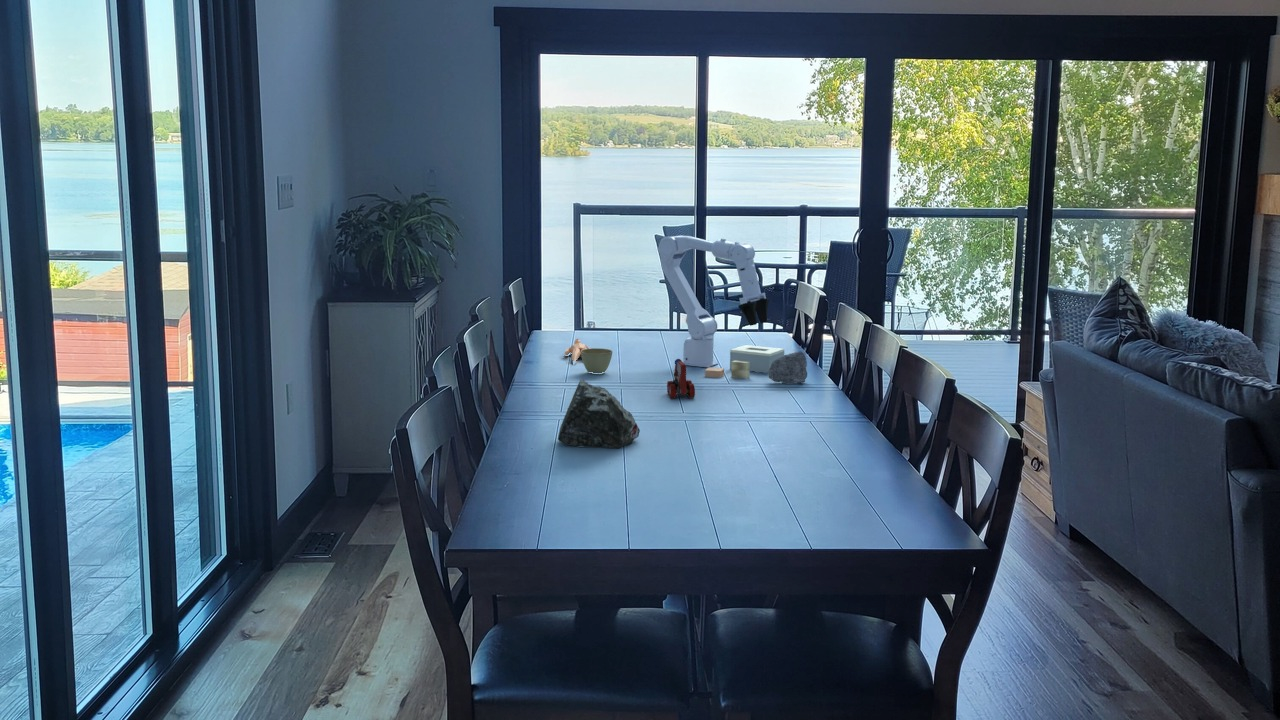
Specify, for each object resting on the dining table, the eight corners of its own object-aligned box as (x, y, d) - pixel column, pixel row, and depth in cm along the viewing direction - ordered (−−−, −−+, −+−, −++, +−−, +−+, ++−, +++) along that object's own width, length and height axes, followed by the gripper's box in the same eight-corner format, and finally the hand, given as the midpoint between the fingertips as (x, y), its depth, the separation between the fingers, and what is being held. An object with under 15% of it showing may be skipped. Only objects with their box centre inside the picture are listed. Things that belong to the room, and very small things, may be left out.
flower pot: (575, 374, 339) (575, 352, 338) (588, 369, 349) (588, 347, 347) (604, 377, 336) (604, 354, 334) (617, 371, 345) (617, 349, 344)
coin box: (729, 369, 350) (730, 349, 349) (745, 363, 359) (745, 344, 358) (769, 373, 343) (769, 353, 342) (783, 368, 352) (784, 348, 351)
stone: (593, 470, 245) (618, 411, 241) (533, 431, 252) (557, 373, 248) (633, 460, 261) (658, 405, 257) (576, 423, 268) (599, 370, 264)
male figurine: (567, 356, 355) (561, 337, 379) (567, 370, 356) (561, 351, 380) (600, 355, 356) (592, 337, 380) (599, 370, 358) (592, 350, 382)
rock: (806, 381, 331) (807, 349, 329) (808, 385, 326) (809, 352, 324) (767, 381, 332) (768, 348, 330) (768, 384, 326) (769, 351, 324)
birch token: (731, 377, 337) (731, 361, 336) (734, 376, 339) (735, 360, 338) (745, 379, 335) (746, 363, 334) (749, 377, 337) (749, 362, 336)
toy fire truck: (689, 391, 316) (689, 356, 314) (695, 400, 304) (696, 364, 302) (665, 391, 315) (666, 356, 313) (671, 401, 303) (671, 364, 301)
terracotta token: (704, 377, 338) (705, 370, 337) (708, 374, 342) (708, 367, 342) (720, 378, 336) (720, 371, 336) (723, 375, 341) (724, 368, 341)
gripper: (750, 281, 335) (759, 324, 336) (770, 277, 348) (779, 318, 348) (730, 285, 339) (739, 328, 340) (750, 281, 351) (760, 322, 352)
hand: (758, 323), depth 344 cm, fingers open, 7 cm apart
